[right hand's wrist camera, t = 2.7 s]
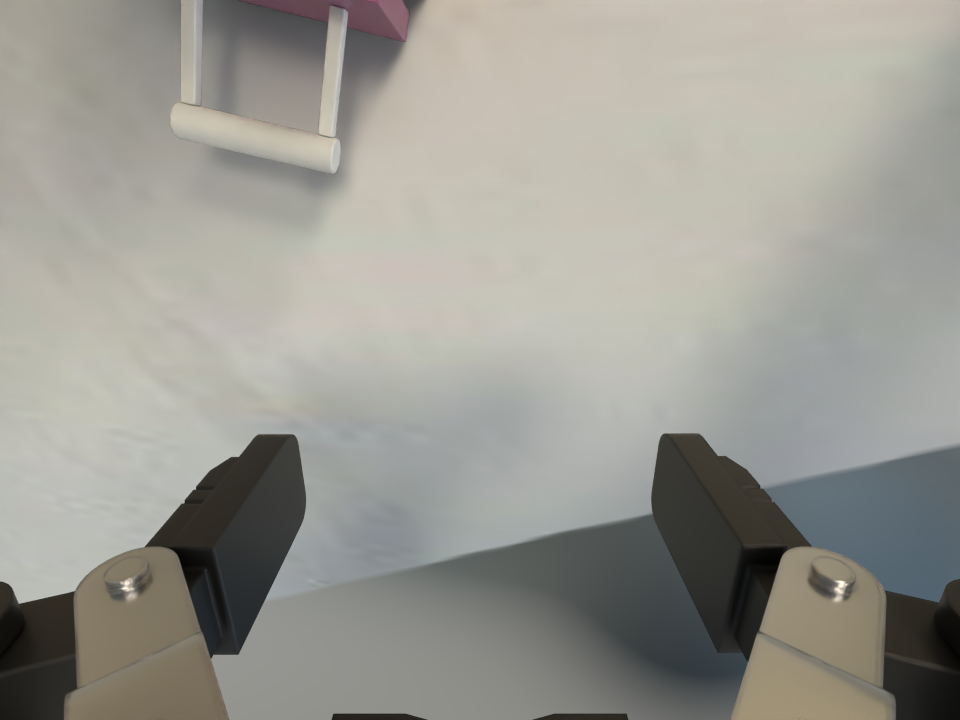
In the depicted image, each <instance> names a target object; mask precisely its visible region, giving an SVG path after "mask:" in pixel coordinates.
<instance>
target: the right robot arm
mask: <svg viewBox="0 0 960 720" xmlns="http://www.w3.org/2000/svg"><path fill="white" fill-rule="evenodd" d="M651 502H652V511H653V516H654V520H655V522H656V525H657V527H658V529H659V531H660V533H661V535H662V537H663V539H664V541H665V543H666V545H667V547H668V550H669V552H670V554H671V556H672V558H673V560H674V562H675V564H676V566H677V568H678V570H679V573H680V575H681V577H682V579H683V581H684V583H685V585H686V587H687V589H688V591H689V594H690V596H691V598H692V600H693V602H694V604H695V606H696V608H697V610H698V612H699V614H700V617H701V619H702V621H703V623H704V625H705V627H706V629H707V631H708V633H709V635H710V637H711V640H712V642H713V644H714V646H715V648H716V650H717V652H718V653H743V654H744V656H745V658H746V660H747V662H748V665H747V668H746V671H745V674H744V678H743V681H742V684H741V687H740V691H739V694H738V697H737V701H736V704H735V707H734V710H733V713H732V717H731V720H960V579H958V580H954V581H952V582H950V583H948V584H947V585H946V588H945V590H944V592H943V595H942V597H941V599H940V602H939V603H938V602H933V601H929V600H925V599H920V598H916V597H911V596H907V595H902V594H898V593H893V592H889V591H885V590H884V588H883V587H882V585H881V584H880V582H879V581H878V580H877V579H876V578H875V576H874V575H872V574H871V573H870V572H869V571H868V570H867V569H865V568H864V567H863V566H861V565H860V564H858V563H856V562H855V561H853V560H851V559H849V558H847V557H845V556H843V555H840V554H838V553H836V552H832V551H829V550H826V549H821V548H816V547H812V546H811V545H810V544H809V543H808V541H807V540H806V539H805V538H804V537H803V535H802V534H801V533H800V532H799V531H798V530H797V528H796V527H795V526H794V525H793V524H792V522H791V521H790V520H789V519H788V518H787V517H786V515H785V514H784V513H783V512H782V511H781V510H780V508H779V507H778V506H777V505H776V504H775V503H774V502H772V501H771V498H770V497H769V495H768V494H767V493H766V492H765V491H764V489H761V488H760V485H759V484H758V482H757V481H756V480H755V479H754V478H753V477H752V475H751V474H750V473H749V472H748V471H747V470H746V469H745V468H743V467H742V466H740V465H739V464H737V463H735V462H734V461H732V460H731V459H729V458H728V457H726V456H717V454H716V453H715V452H714V451H713V449H712V448H711V447H710V446H709V444H708V443H707V442H706V441H705V439H704V438H703V437H702V436H701V435H700V434H663V435H662V436H661V438H660V441H659V446H658V453H657V460H656V467H655V473H654V480H653V487H652V496H651ZM305 508H306V492H305V486H304V479H303V472H302V465H301V458H300V452H299V445H298V441H297V438H296V437H295V436H294V435H293V434H259V435H257V436H256V437H255V438H254V439H253V440H252V441H251V443H250V444H249V445H248V446H247V448H246V449H245V450H244V451H243V453H242V454H241V455H240V456H239V457H231V458H229V459H228V460H226V461H224V462H223V463H221V464H220V465H218V466H217V467H215V468H213V469H212V470H210V471H209V472H208V474H207V475H206V476H205V477H204V478H203V479H202V481H201V482H200V483H199V484H198V485H197V486H196V490H193V491H192V492H191V493H190V495H189V496H188V497H187V498H186V499H185V503H184V504H181V505H180V506H179V508H178V509H177V510H176V511H175V512H174V513H173V515H172V516H171V517H170V518H169V519H168V520H167V522H166V523H165V524H164V525H163V526H162V527H161V529H160V530H159V531H158V532H157V533H156V534H155V536H154V537H153V538H152V539H151V540H150V541H149V543H148V544H147V545H146V546H145V547H144V548H138V549H134V550H131V551H128V552H124V553H122V554H120V555H117V556H115V557H113V558H111V559H109V560H107V561H105V562H104V563H102V564H100V565H99V566H97V567H96V568H95V569H93V570H92V571H91V572H90V573H89V574H88V575H86V576H85V578H84V579H83V580H82V581H81V582H80V584H79V585H78V587H77V588H76V591H74V592H70V593H66V594H61V595H57V596H52V597H48V598H43V599H39V600H35V601H30V602H26V603H21V604H19V603H18V601H17V599H16V596H15V594H14V592H13V589H12V587H11V586H10V585H9V584H7V583H4V582H0V720H229V717H228V713H227V710H226V707H225V704H224V700H223V697H222V694H221V691H220V687H219V684H218V681H217V678H216V675H215V671H214V668H213V665H212V661H211V658H212V656H213V655H238V654H239V652H240V650H241V648H242V646H243V644H244V642H245V640H246V638H247V636H248V634H249V632H250V630H251V627H252V625H253V623H254V621H255V619H256V617H257V615H258V613H259V611H260V609H261V607H262V605H263V603H264V601H265V599H266V597H267V594H268V592H269V590H270V588H271V586H272V584H273V582H274V580H275V578H276V576H277V574H278V572H279V570H280V568H281V566H282V563H283V561H284V559H285V557H286V555H287V553H288V551H289V549H290V547H291V545H292V543H293V541H294V539H295V537H296V535H297V532H298V530H299V528H300V526H301V524H302V522H303V519H304V514H305ZM332 720H426V719H423V718H419V717H415V716H412V715H408V714H333V717H332ZM534 720H628V717H627V714H552V715H548V716H545V717H541V718H538V719H534Z"/></svg>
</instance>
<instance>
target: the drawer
mask: <svg viewBox="0 0 960 720" xmlns="http://www.w3.org/2000/svg"><path fill="white" fill-rule="evenodd" d="M240 1H244V2H248V3H252V4H256V5H260V6H264V7H268V8H272V9H276V10H280V11H284V12H288V13H292V14H296V15H300V16H304V17H308V18H312V19H316V20H320V21H324V22H328V30H327V41H326V52H325V62H324V73H323V84H322V94H321V105H320V115H319V126H318V134H315V133H311V132H307V131H303V130H298V129H294V128H290V127H286V126H281V125H277V124H273V123H268V122H264V121H260V120H256V119H251V118H247V117H243V116H239V115H234V114H230V113H226V112H222V111H217V110H213V109H209V108H204V107H200V106H201V89H202V28H203V0H181V98H180V100H181V102H177V103H175V104H174V105H173V107H172V109H171V113H170V125H171V129H172V132H173V134H174V135H175V136H176V137H177V138H179V139H182V140H187V141H191V142H196V143H200V144H204V145H209V146H213V147H217V148H222V149H226V150H231V151H235V152H239V153H244V154H248V155H252V156H257V157H261V158H265V159H270V160H274V161H279V162H283V163H287V164H292V165H296V166H300V167H305V168H309V169H314V170H318V171H322V172H327V173H331V174H334V173H335V172H336V170H337V168H338V165H339V161H340V142H339V140H338V139H337V138H332V137H335V133H336V124H337V114H338V105H339V95H340V86H341V76H342V67H343V58H344V48H345V39H346V29H347V28H351V29H355V30H359V31H363V32H367V33H371V34H375V35H379V36H383V37H387V38H391V39H395V40H399V41H403V42H405V41H406V34H407V27H408V20H409V12H408V10H407V8H406V6H405V4H404V2H403V0H240Z"/></svg>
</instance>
